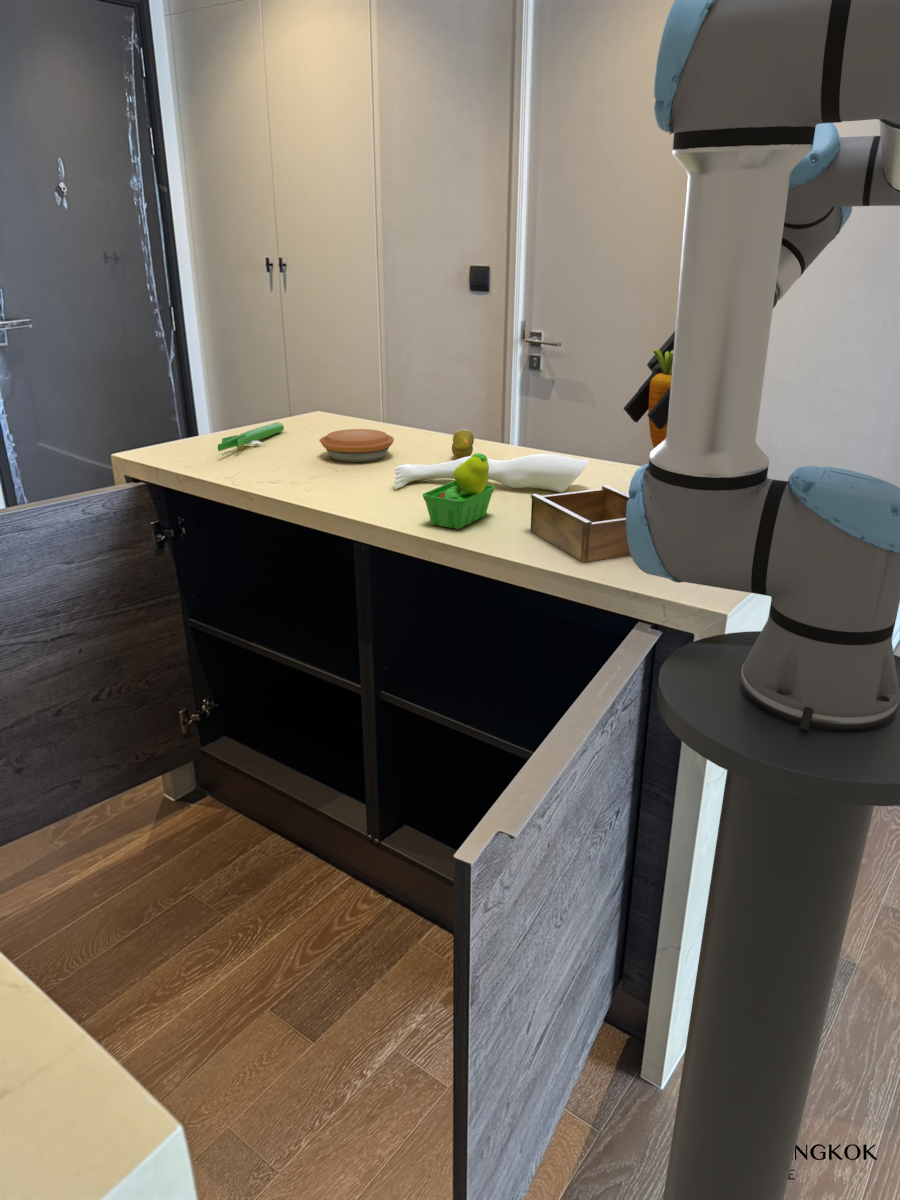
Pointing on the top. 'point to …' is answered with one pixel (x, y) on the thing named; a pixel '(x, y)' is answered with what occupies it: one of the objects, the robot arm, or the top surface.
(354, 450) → the pie
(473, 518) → the fruit basket
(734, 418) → the robot arm
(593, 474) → the top surface
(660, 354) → the carrot
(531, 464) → the leg
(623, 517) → the wooden crate
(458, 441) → the bird figurine
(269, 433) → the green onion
